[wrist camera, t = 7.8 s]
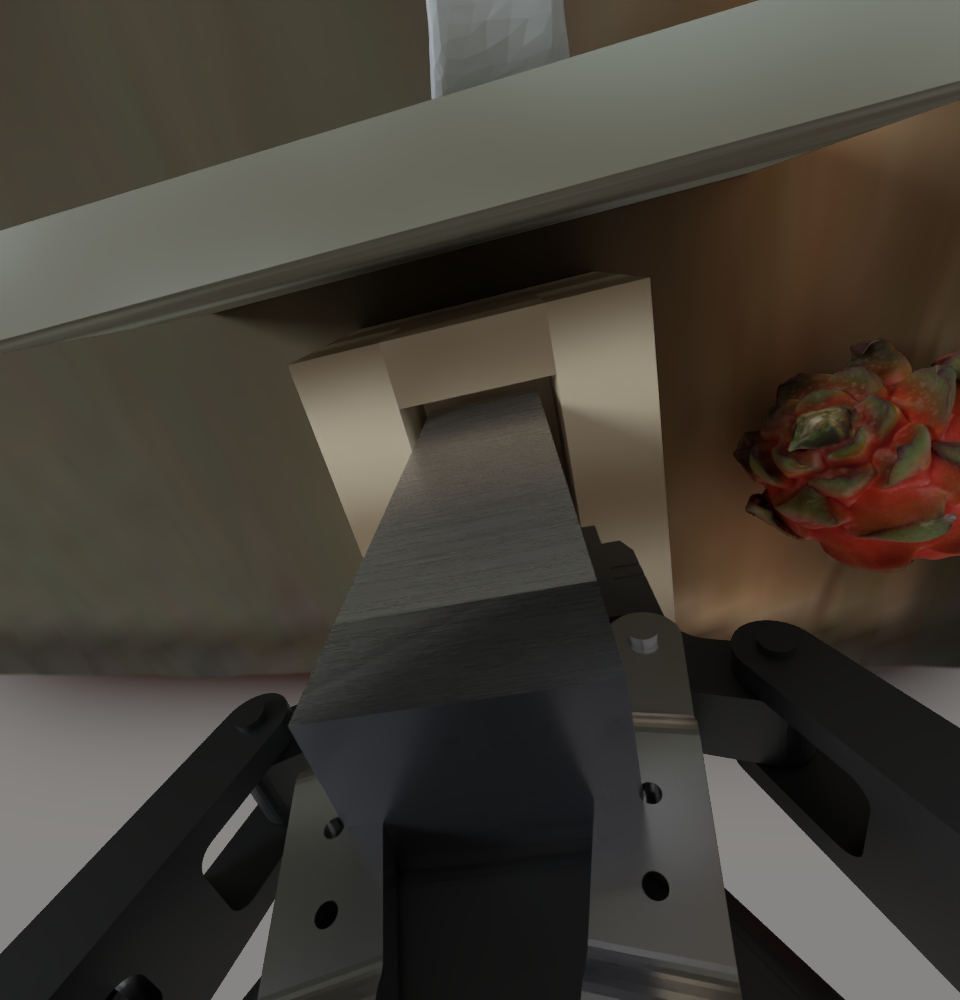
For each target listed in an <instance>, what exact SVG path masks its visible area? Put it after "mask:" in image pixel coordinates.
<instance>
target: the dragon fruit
mask: <svg viewBox="0 0 960 1000" xmlns="http://www.w3.org/2000/svg"><path fill="white" fill-rule="evenodd" d="M850 350H851V351H852V359H851V360H850V362H849V363H848V364H847V366H846V368H845V369H844V370H841V371H839V372H836V373H834V374H833V375H831V374H825V373H815V374H804V373H800V374H798V375H796V376H794V377H792V378H790V379H788V380H787V381H785V382H784V383H783V384H780V385H779V387H778V392H777V400H776V404H775V405H774V406H772V407H771V408H770V409H769V410H768V412H767V414H766V415H765V417H764V419H763V422H762V426H761V430H759V431H753V432H745V433H744V436H743V438H742V439H741V440H740V441H739V443H738V447H737V449H736V451H735V452H734V453H733V455H734V457H735V458H736V460H737V461H738V462H739V463H740V464H741V465H742V467H743V468H744V470H745V471H746V473H747V474H748V475H749V476H750V477H751V479H753V480H754V481H755V482H757V483H761V484H763V485H765V486H766V489H765V490H764V492H763V493H762V494H759V493H758V494H753V495H751V496H750V498H749V501H748V503H747V505H746V512H748V513H749V514H752V515H753V516H756V517H758V518H760V519H761V520H763V521H764V522H766V523H768V524H769V525H771V526H774V527H775V528H776V529H778V530H779V531H781V532H782V533H784V534H786V535H787V536H790V537H792V538H794V539H797V540H808V539H815V540H818V541H819V542H820V544H821V546H822V548H823V549H824V551H825V552H826V553H828V554H829V555H831V556H832V557H833V558H835V559H836V560H838V561H840V562H842V563H843V564H846V565H848V566H850V567H852V568H855V569H860V570H865V571H871V572H885V573H889V572H896V571H904V570H905V568H906V566H907V565H909V564H912V563H913V560H912V559H913V558H924V559H930V560H938V559H943V558H947V557H952V556H959V555H960V351H956V352H952V353H949V354H946V355H944V356H942V357H940V358H939V359H937V360H936V361H934V362H933V363H932V364H931V366H933V367H927V368H921V369H918V370H916V371H914V372H913V371H912V367H911V365H910V363H909V362H908V360H907V359H906V358H905V357H904V355H903V354H902V353H901V352H899V351H897V350H896V349H895V348H894V345H893V344H892V343H891V342H890V341H888V340H885V339H883V338H879V339H876V340H872V341H864V342H861V343H858V344H856V345H854V346H851V347H850Z"/></svg>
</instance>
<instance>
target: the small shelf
mask: <svg viewBox="0 0 960 1000" xmlns="http://www.w3.org/2000/svg"><path fill="white" fill-rule="evenodd" d="M958 100H960V0H758V1H755V2H752V3H748V4H745V5H742V6H738V7H735V8H732V9H729V10H725V11H722V12H719V13H715V14H712V15H709V16H706V17H702V18H699V19H696V20H692V21H689V22H686V23H683V24H679V25H676V26H673V27H669V28H666V29H663V30H659V31H656V32H653V33H650V34H646V35H643V36H640V37H636V38H633V39H630V40H627V41H623V42H620V43H617V44H613V45H610V46H607V47H604V48H600V49H597V50H594V51H590V52H587V53H584V54H581V55H577V56H574V57H571V58H567V59H564V60H561V61H557V62H554V63H551V64H548V65H544V66H541V67H538V68H534V69H531V70H528V71H525V72H521V73H518V74H515V75H511V76H508V77H505V78H502V79H498V80H495V81H492V82H488V83H485V84H482V85H479V86H475V87H472V88H469V89H465V90H462V91H459V92H455V93H452V94H449V95H446V96H442V97H439V98H436V99H432V100H429V101H426V102H423V103H419V104H416V105H413V106H409V107H406V108H403V109H400V110H396V111H393V112H390V113H386V114H383V115H380V116H377V117H373V118H370V119H367V120H363V121H360V122H357V123H353V124H350V125H347V126H344V127H340V128H337V129H334V130H330V131H327V132H324V133H321V134H317V135H314V136H311V137H307V138H304V139H301V140H298V141H294V142H291V143H288V144H284V145H281V146H278V147H275V148H271V149H268V150H265V151H261V152H258V153H255V154H251V155H248V156H245V157H242V158H238V159H235V160H232V161H228V162H225V163H222V164H219V165H215V166H212V167H209V168H205V169H202V170H199V171H196V172H192V173H189V174H186V175H182V176H179V177H176V178H173V179H169V180H166V181H163V182H159V183H156V184H153V185H149V186H146V187H143V188H140V189H136V190H133V191H130V192H126V193H123V194H120V195H117V196H113V197H110V198H107V199H103V200H100V201H97V202H94V203H90V204H87V205H84V206H80V207H77V208H74V209H71V210H67V211H64V212H61V213H57V214H54V215H51V216H47V217H44V218H41V219H38V220H34V221H31V222H28V223H24V224H21V225H18V226H15V227H11V228H8V229H5V230H1V231H0V353H4V352H10V351H15V350H21V349H26V348H31V347H37V346H42V345H47V344H53V343H58V342H64V341H69V340H74V339H80V338H85V337H90V336H96V335H101V334H107V333H112V332H117V331H123V330H128V329H133V328H139V327H144V326H150V325H155V324H160V323H166V322H171V321H176V320H182V319H187V318H193V317H198V316H203V315H209V314H213V313H217V312H221V311H225V310H228V309H232V308H236V307H240V306H244V305H247V304H251V303H255V302H259V301H263V300H267V299H270V298H274V297H278V296H282V295H286V294H289V293H293V292H297V291H301V290H305V289H309V288H312V287H316V286H320V285H324V284H328V283H331V282H335V281H339V280H343V279H347V278H351V277H354V276H358V275H362V274H366V273H370V272H373V271H377V270H381V269H385V268H389V267H392V266H396V265H400V264H404V263H408V262H412V261H415V260H419V259H423V258H427V257H431V256H434V255H438V254H442V253H446V252H450V251H454V250H457V249H461V248H465V247H469V246H473V245H476V244H480V243H484V242H488V241H492V240H496V239H499V238H503V237H507V236H511V235H515V234H518V233H522V232H526V231H530V230H534V229H538V228H541V227H545V226H549V225H553V224H557V223H560V222H564V221H568V220H572V219H576V218H579V217H583V216H587V215H591V214H595V213H599V212H602V211H606V210H610V209H614V208H618V207H621V206H625V205H629V204H633V203H637V202H641V201H644V200H648V199H652V198H656V197H660V196H663V195H667V194H671V193H675V192H679V191H683V190H686V189H690V188H694V187H698V186H702V185H705V184H709V183H713V182H717V181H721V180H725V179H728V178H732V177H736V176H740V175H744V174H747V173H751V172H754V171H757V170H760V169H763V168H765V167H768V166H771V165H774V164H777V163H780V162H783V161H786V160H788V159H791V158H794V157H797V156H800V155H803V154H806V153H809V152H811V151H814V150H817V149H820V148H823V147H826V146H829V145H832V144H834V143H837V142H840V141H843V140H846V139H849V138H852V137H855V136H857V135H860V134H863V133H866V132H869V131H872V130H875V129H878V128H880V127H883V126H886V125H889V124H892V123H895V122H898V121H901V120H903V119H906V118H909V117H912V116H915V115H918V114H921V113H924V112H926V111H929V110H932V109H935V108H938V107H941V106H944V105H947V104H949V103H952V102H955V101H958ZM288 368H289V370H290V373H291V375H292V378H293V381H294V383H295V386H296V388H297V391H298V393H299V396H300V398H301V401H302V403H303V406H304V409H305V411H306V414H307V416H308V419H309V421H310V424H311V426H312V429H313V431H314V434H315V437H316V439H317V442H318V444H319V447H320V449H321V452H322V454H323V457H324V459H325V462H326V465H327V467H328V470H329V472H330V475H331V477H332V480H333V482H334V485H335V487H336V490H337V493H338V495H339V498H340V500H341V503H342V505H343V508H344V510H345V513H346V515H347V518H348V521H349V523H350V526H351V528H352V531H353V533H354V536H355V538H356V541H357V543H358V546H359V549H360V551H361V554H362V556H363V559H364V557H365V554H366V552H367V550H368V548H369V546H370V543H371V541H372V539H373V537H374V534H375V532H376V530H377V528H378V526H379V523H380V521H381V519H382V517H383V515H384V512H385V510H386V508H387V506H388V503H389V501H390V499H391V497H392V495H393V492H394V490H395V488H396V486H397V484H398V481H399V479H400V477H401V475H402V473H403V470H404V468H405V466H406V464H407V461H408V459H409V457H410V455H411V453H412V450H413V448H414V446H415V444H416V442H417V439H418V437H419V435H420V433H421V431H422V428H423V426H424V424H425V422H426V419H427V417H428V415H429V413H430V411H434V410H438V409H443V408H447V407H452V406H457V405H461V404H466V403H470V402H475V401H479V400H484V399H488V398H493V397H498V396H502V395H507V394H511V393H516V392H520V391H525V390H529V389H534V388H537V390H538V393H539V396H540V400H541V403H542V406H543V409H544V412H545V416H546V419H547V422H548V425H549V428H550V432H551V435H552V438H553V441H554V444H555V448H556V451H557V454H558V457H559V461H560V464H561V467H562V470H563V473H564V477H565V480H566V483H567V486H568V489H569V493H570V496H571V499H572V502H573V505H574V509H575V512H576V515H577V518H578V522H579V525H580V528H581V527H587V526H592V525H595V527H596V530H597V533H598V535H599V538H600V541H601V543H607V542H613V541H619V540H620V541H621V542H623V543H624V544H626V545H627V546H628V547H630V548H631V549H633V551H634V553H635V555H636V557H637V559H638V561H639V564H640V565H641V568H642V570H643V572H644V575H645V576H646V578H647V580H648V582H649V585H650V587H651V589H652V591H653V593H654V595H655V597H656V599H657V602H658V604H659V606H660V608H661V610H662V612H663V614H664V616H665V617H666V618H668V619H670V620H671V621H673V622H674V623H675V624H676V622H675V608H674V595H673V581H672V568H671V554H670V541H669V527H668V514H667V500H666V487H665V473H664V460H663V446H662V433H661V419H660V406H659V392H658V379H657V365H656V352H655V338H654V324H653V311H652V297H651V284H650V277H642V276H633V275H624V274H614V273H605V272H596V271H593V272H589V273H585V274H581V275H577V276H573V277H569V278H565V279H561V280H557V281H553V282H549V283H545V284H541V285H537V286H533V287H529V288H525V289H521V290H517V291H513V292H509V293H504V294H500V295H496V296H492V297H488V298H484V299H480V300H476V301H472V302H468V303H464V304H460V305H456V306H452V307H448V308H444V309H440V310H436V311H432V312H428V313H424V314H420V315H415V316H411V317H407V318H403V319H399V320H395V321H391V322H387V323H383V324H379V325H375V326H371V327H367V328H363V329H359V330H357V331H355V332H353V333H351V334H349V335H347V336H345V337H343V338H341V339H339V340H337V341H335V342H333V343H331V344H329V345H327V346H325V347H323V348H321V349H319V350H317V351H315V352H313V353H311V354H309V355H307V356H305V357H303V358H301V359H299V360H297V361H295V362H293V363H291V364H289V365H288Z"/></svg>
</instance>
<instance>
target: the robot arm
mask: <svg viewBox="0 0 960 1000" xmlns="http://www.w3.org/2000/svg"><path fill="white" fill-rule="evenodd" d="M581 531H582V534H583V538H584V541H585V544H586V547H587V550H588V554H589V557H590V560H591V563H592V566H593V570H594V573H595V576H596V579H597V583H598V586H599V589H600V592H601V595H602V599H603V602H604V605H605V608H606V611H607V615H608V618H609V621H610V624H611V627H612V631H613V634H614V637H615V640H616V644H617V647H618V650H619V653H620V656H621V660H622V663H623V666H624V669H625V672H626V676H627V679H628V687H629V694H630V701H631V709H632V716H633V724H634V731H635V738H636V746H637V753H638V761H639V768H640V775H641V783H642V790H643V798H644V801H643V800H642V799H641V798H640V796H639V794H638V795H629V796H620V797H611V798H602V799H594V819H593V837H592V838H582V839H572V840H562V841H552V842H542V843H532V844H522V845H513V846H503V847H493V848H483V849H473V850H463V851H453V852H443V853H433V854H423V855H413V856H404V857H396V850H395V846H394V844H393V842H392V840H391V838H390V836H389V834H388V832H387V830H386V828H385V826H384V824H383V823H376V824H367V825H358V826H349V827H345V826H344V825H343V823H342V821H341V819H340V818H339V816H338V814H337V812H336V810H335V809H334V807H333V805H332V803H331V802H330V800H329V798H328V796H327V795H326V793H325V791H324V789H323V787H322V786H321V784H320V782H319V780H318V779H317V777H316V775H315V773H314V772H313V770H312V768H311V766H310V765H309V763H308V761H307V759H306V757H305V756H304V754H303V752H302V750H301V749H300V747H299V745H298V743H297V742H296V740H295V738H294V736H293V734H292V733H291V731H290V729H289V727H288V725H289V722H290V720H291V718H292V716H293V714H294V711H295V709H296V707H297V705H295V706H293V707H290V706H289V704H288V702H287V701H286V699H285V698H284V697H283V696H282V695H280V694H276V693H268V694H263V695H260V696H257V697H254V698H252V699H250V700H248V701H246V702H245V703H243V704H242V705H240V706H239V707H238V708H237V709H235V710H234V711H233V712H232V713H231V714H230V715H229V716H228V717H227V718H226V719H225V720H224V721H223V722H222V723H221V724H220V725H219V726H218V727H217V728H216V729H215V730H214V731H213V732H212V733H211V735H210V736H209V737H208V738H207V739H206V740H205V741H204V742H203V743H202V744H201V745H200V746H199V747H198V748H197V749H196V750H195V751H194V752H193V753H192V754H191V756H189V758H188V759H187V760H186V761H185V762H184V763H183V764H182V765H181V766H180V767H179V768H178V769H177V770H176V771H175V772H174V773H173V774H172V775H171V776H170V777H169V778H168V780H167V781H166V782H165V783H164V784H163V785H162V786H161V787H160V788H159V789H158V790H157V791H156V792H155V793H154V794H153V795H152V796H151V797H150V798H149V799H148V800H147V801H146V802H145V803H144V805H143V806H142V807H141V808H140V809H139V810H138V811H137V812H136V813H135V814H134V815H133V816H132V817H131V818H130V819H129V820H128V821H127V822H126V823H125V824H124V825H123V827H122V828H121V829H120V830H119V831H118V832H117V833H116V834H115V835H114V836H113V837H112V838H111V839H110V840H109V841H108V842H107V843H106V844H105V845H104V846H103V847H102V848H101V850H100V851H99V852H98V853H97V854H96V855H95V856H94V857H93V858H92V859H91V860H90V861H89V862H88V863H87V864H86V865H85V866H84V867H83V868H82V869H81V870H80V871H79V872H78V873H77V874H76V876H75V877H74V878H73V879H72V880H71V881H70V882H69V883H68V884H67V885H66V886H65V887H64V888H63V889H62V890H61V891H60V892H59V893H58V894H57V895H56V896H55V897H54V899H53V900H52V901H51V902H50V903H49V904H48V905H47V906H46V907H45V908H44V909H43V910H42V911H41V912H40V913H39V914H38V915H37V916H36V917H35V918H34V920H32V921H31V923H30V924H29V925H28V926H27V927H26V928H25V929H24V930H23V931H22V932H21V933H20V934H19V935H18V936H17V937H16V938H15V939H14V940H13V941H12V942H11V943H10V944H9V946H8V947H7V948H6V949H5V950H4V951H3V952H2V953H1V954H0V1000H211V998H212V997H213V995H214V994H215V992H216V991H217V989H218V987H219V986H220V984H221V983H222V981H223V980H224V978H225V976H226V975H227V973H228V972H229V970H230V969H231V967H232V965H233V964H234V962H235V960H236V959H237V958H238V956H239V955H240V953H241V951H242V950H243V948H244V947H245V945H246V943H247V942H248V940H249V939H250V937H251V936H252V934H253V932H254V931H255V929H256V928H257V926H258V925H259V923H260V921H261V920H262V918H263V917H264V915H265V914H266V912H267V911H268V909H269V907H270V906H271V904H272V903H273V901H274V900H275V902H274V908H273V913H272V919H271V925H270V930H269V936H268V942H267V947H266V953H265V959H264V964H263V970H262V976H261V978H260V979H259V980H258V981H257V982H256V984H255V985H254V986H253V987H252V988H251V990H250V991H249V992H248V993H247V995H246V996H245V997H244V998H243V1000H845V999H844V998H843V997H842V996H840V995H839V994H838V993H837V992H836V991H835V990H834V989H833V988H832V987H831V986H830V985H829V984H827V983H826V982H825V981H824V980H823V979H822V978H821V977H820V976H819V975H818V974H817V973H815V972H814V970H812V969H811V968H810V967H809V966H808V965H807V964H806V963H805V962H804V961H803V960H802V959H801V958H799V957H798V956H797V955H796V954H795V953H794V952H793V951H792V950H791V949H790V948H789V947H788V946H787V945H786V944H784V943H783V942H782V941H781V940H780V939H779V938H778V937H777V936H776V935H775V934H774V933H773V932H771V931H770V930H769V929H768V928H767V927H766V926H765V925H764V924H763V923H762V922H761V921H760V920H759V919H758V918H756V917H755V916H754V915H753V914H752V913H751V912H750V911H749V910H748V909H747V908H746V907H745V906H744V905H742V904H741V903H740V902H739V901H738V900H737V899H736V898H735V897H734V896H733V895H732V894H731V893H730V892H729V891H727V890H726V889H725V888H724V884H723V877H722V871H721V865H720V858H719V852H718V846H717V840H716V834H715V827H714V821H713V814H712V808H711V802H710V796H709V790H708V783H707V777H706V770H705V764H704V758H703V754H709V755H715V756H720V757H726V758H732V759H736V760H737V762H738V763H739V765H740V766H741V767H742V768H743V769H744V770H745V771H746V772H747V773H748V774H749V775H750V777H751V778H752V779H753V780H754V781H756V783H757V784H758V785H759V786H760V787H761V788H762V789H763V790H764V791H765V792H766V793H767V794H768V795H769V796H770V797H771V798H772V799H773V800H774V801H775V802H776V803H777V804H778V805H779V806H780V808H782V809H783V811H784V812H785V813H786V814H787V815H788V816H789V817H790V818H791V819H792V820H793V821H794V822H795V823H796V824H797V825H798V826H799V827H800V828H801V829H802V830H803V831H804V832H805V833H806V834H807V835H808V836H809V837H810V838H811V839H812V841H813V842H814V843H815V844H816V845H817V846H818V847H819V848H820V849H821V850H822V851H823V852H824V853H825V854H826V855H827V856H828V857H829V858H830V859H831V860H832V861H833V862H834V863H835V864H836V865H837V866H838V867H839V868H840V869H841V871H842V872H843V873H844V874H845V875H846V876H847V877H849V879H850V880H851V881H852V882H853V883H854V884H855V885H856V886H857V887H858V888H859V889H860V890H861V891H862V892H863V893H864V894H865V895H866V896H867V897H868V898H869V899H870V900H871V901H872V903H873V904H874V905H875V906H876V907H877V908H878V909H879V910H880V911H881V912H882V913H883V914H884V915H885V916H886V917H887V918H888V919H889V920H890V921H891V922H892V923H893V924H894V925H895V926H896V927H897V928H898V929H899V930H900V931H901V932H902V934H903V935H905V937H906V938H907V939H908V940H909V941H910V942H911V943H912V944H913V945H914V946H915V947H916V948H917V949H918V950H919V951H920V952H921V953H922V954H923V955H924V956H925V957H926V958H927V959H928V960H929V961H930V962H931V963H932V964H933V965H934V966H935V968H936V969H938V971H939V972H940V973H941V974H942V975H943V976H944V977H945V978H946V979H947V980H948V981H949V982H950V983H951V984H952V985H953V986H954V987H955V988H956V989H957V990H958V991H959V992H960V728H959V727H957V726H956V725H954V724H952V723H951V722H949V721H948V720H946V719H944V718H943V717H941V716H940V715H938V714H937V713H935V712H933V711H932V710H930V709H929V708H927V707H926V706H924V705H922V704H921V703H919V702H918V701H916V700H914V699H913V698H911V697H910V696H908V695H907V694H905V693H903V692H902V691H900V690H899V689H897V688H895V687H894V686H892V685H891V684H889V683H887V682H886V681H884V680H883V679H881V678H880V677H878V676H876V675H875V674H873V673H872V672H870V671H869V670H867V669H865V668H864V667H862V666H861V665H859V664H857V663H856V662H854V661H853V660H851V659H850V658H848V657H846V656H845V655H843V654H842V653H840V652H838V651H837V650H835V649H834V648H832V647H831V646H829V645H827V644H826V643H824V642H823V641H821V640H819V639H818V638H816V637H815V636H813V635H812V634H810V633H808V632H807V631H805V630H803V629H801V628H799V627H797V626H794V625H791V624H788V623H784V622H779V621H771V620H762V621H755V622H750V623H747V624H745V625H743V626H741V627H739V628H738V629H737V630H736V631H735V632H734V634H733V636H732V639H731V641H727V640H715V639H705V638H699V637H695V636H691V635H689V634H686V633H684V632H682V631H680V629H679V628H678V626H677V625H676V624H675V623H674V622H673V621H671V620H670V619H668V618H666V617H665V616H664V614H663V612H662V610H661V608H660V606H659V604H658V602H657V599H656V597H655V595H654V593H653V591H652V589H651V587H650V585H649V582H648V580H647V578H646V576H645V575H644V572H643V570H642V568H641V565H640V564H639V561H638V559H637V557H636V555H635V553H634V551H633V549H631V548H630V547H628V546H627V545H626V544H624V543H623V542H621V541H620V540H619V541H613V542H607V543H601V541H600V538H599V535H598V533H597V530H596V527H595V525H592V526H587V527H581ZM250 793H251V794H252V796H253V798H254V799H255V801H256V802H257V804H258V805H257V807H256V808H255V809H254V810H253V812H252V813H251V814H250V816H249V817H248V818H247V820H246V821H245V822H244V823H243V825H242V826H241V827H240V829H239V830H238V831H237V833H236V834H235V835H234V837H233V838H232V839H231V840H230V842H229V843H228V844H227V846H226V847H225V848H224V850H223V851H222V852H221V854H220V855H219V856H218V858H217V859H216V860H215V861H214V863H213V864H212V865H211V867H210V868H209V869H208V870H207V872H206V873H205V874H204V875H203V873H202V861H203V857H204V854H205V852H206V850H207V848H208V846H209V845H210V843H211V842H212V841H213V839H214V838H215V837H216V835H217V834H218V833H219V832H220V830H221V829H222V828H223V826H224V825H225V824H226V823H227V822H228V820H229V819H230V818H231V816H232V815H233V814H234V813H235V811H236V810H237V809H238V808H239V807H240V805H241V804H242V803H243V801H244V800H245V799H246V798H247V796H248V795H249V794H250Z"/></svg>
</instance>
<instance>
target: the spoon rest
mask: <svg viewBox="0 0 960 1000" xmlns="http://www.w3.org/2000/svg"><path fill="white" fill-rule="evenodd" d="M426 6H427V16H428V28H429V55H430V78H431V94H432V99H436V98H439V97H442V96H446V95H449V94H452V93H455V92H459V91H462V90H465V89H469V88H472V87H475V86H479V85H482V84H485V83H488V82H492V81H495V80H498V79H502V78H505V77H508V76H511V75H515V74H518V73H521V72H525V71H528V70H531V69H534V68H538V67H541V66H544V65H548V64H551V63H554V62H557V61H561V60H564V59H567V58H570V53H569V45H568V37H567V31H566V22H565V13H564V3H563V0H426Z"/></svg>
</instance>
